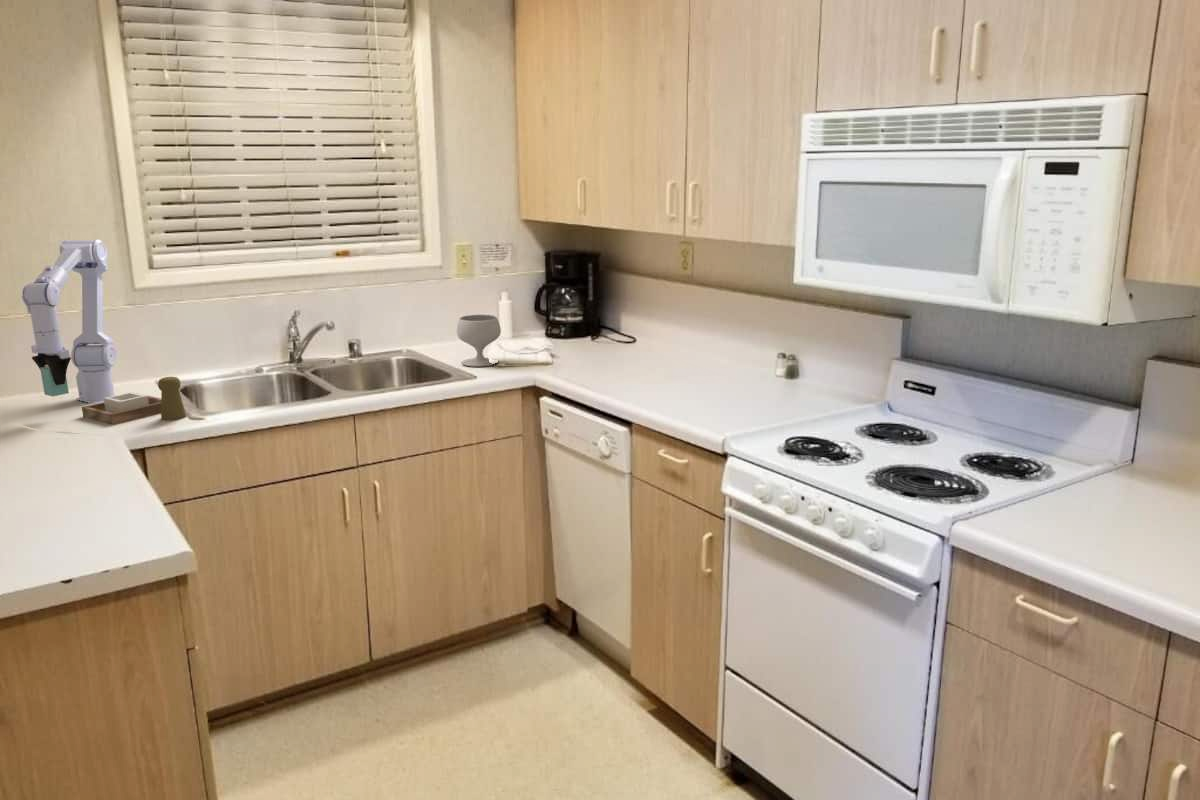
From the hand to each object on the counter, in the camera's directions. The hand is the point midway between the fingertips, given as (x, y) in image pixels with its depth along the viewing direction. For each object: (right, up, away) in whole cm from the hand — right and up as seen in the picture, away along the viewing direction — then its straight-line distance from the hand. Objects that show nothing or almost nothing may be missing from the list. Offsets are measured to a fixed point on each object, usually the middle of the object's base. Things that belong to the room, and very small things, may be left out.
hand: (55, 383), depth 235 cm
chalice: (+100, +7, +63) cm, 119 cm away
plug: (0, -3, +1) cm, 3 cm away
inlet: (+15, -8, +7) cm, 18 cm away
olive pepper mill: (+29, -9, +3) cm, 31 cm away
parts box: (+15, -8, +7) cm, 18 cm away
